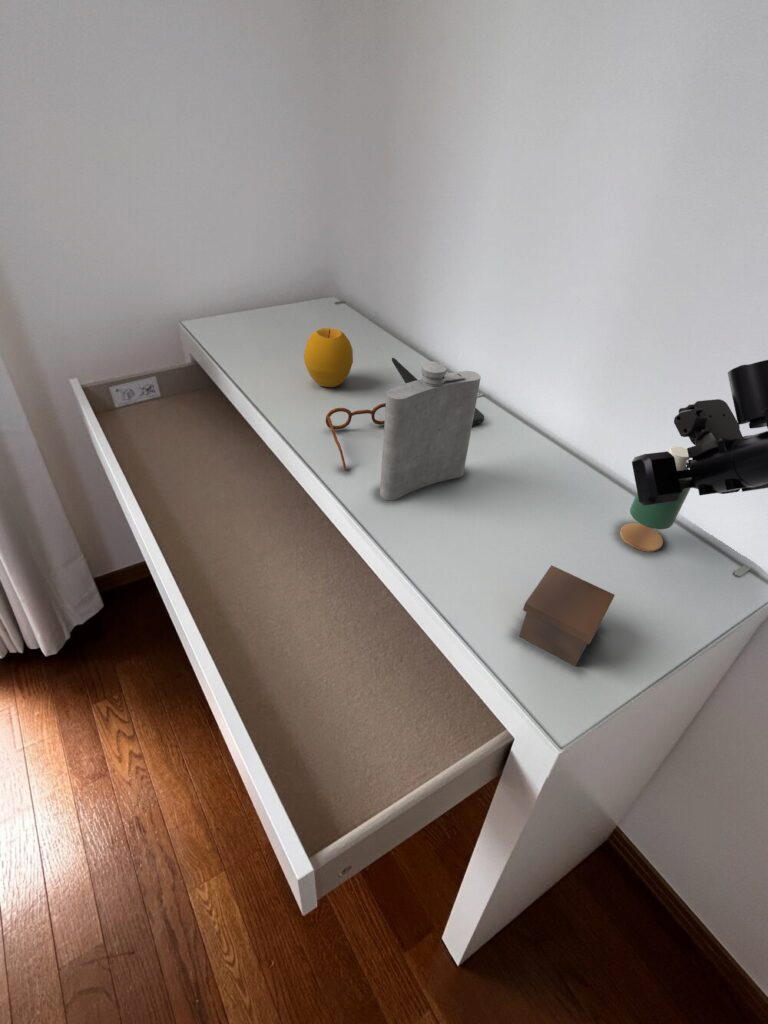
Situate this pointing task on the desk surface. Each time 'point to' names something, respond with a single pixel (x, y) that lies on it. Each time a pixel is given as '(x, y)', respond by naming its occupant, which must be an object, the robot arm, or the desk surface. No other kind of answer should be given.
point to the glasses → (329, 423)
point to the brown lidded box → (564, 614)
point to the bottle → (664, 512)
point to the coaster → (641, 537)
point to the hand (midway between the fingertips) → (657, 483)
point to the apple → (328, 357)
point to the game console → (410, 378)
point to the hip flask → (427, 429)
